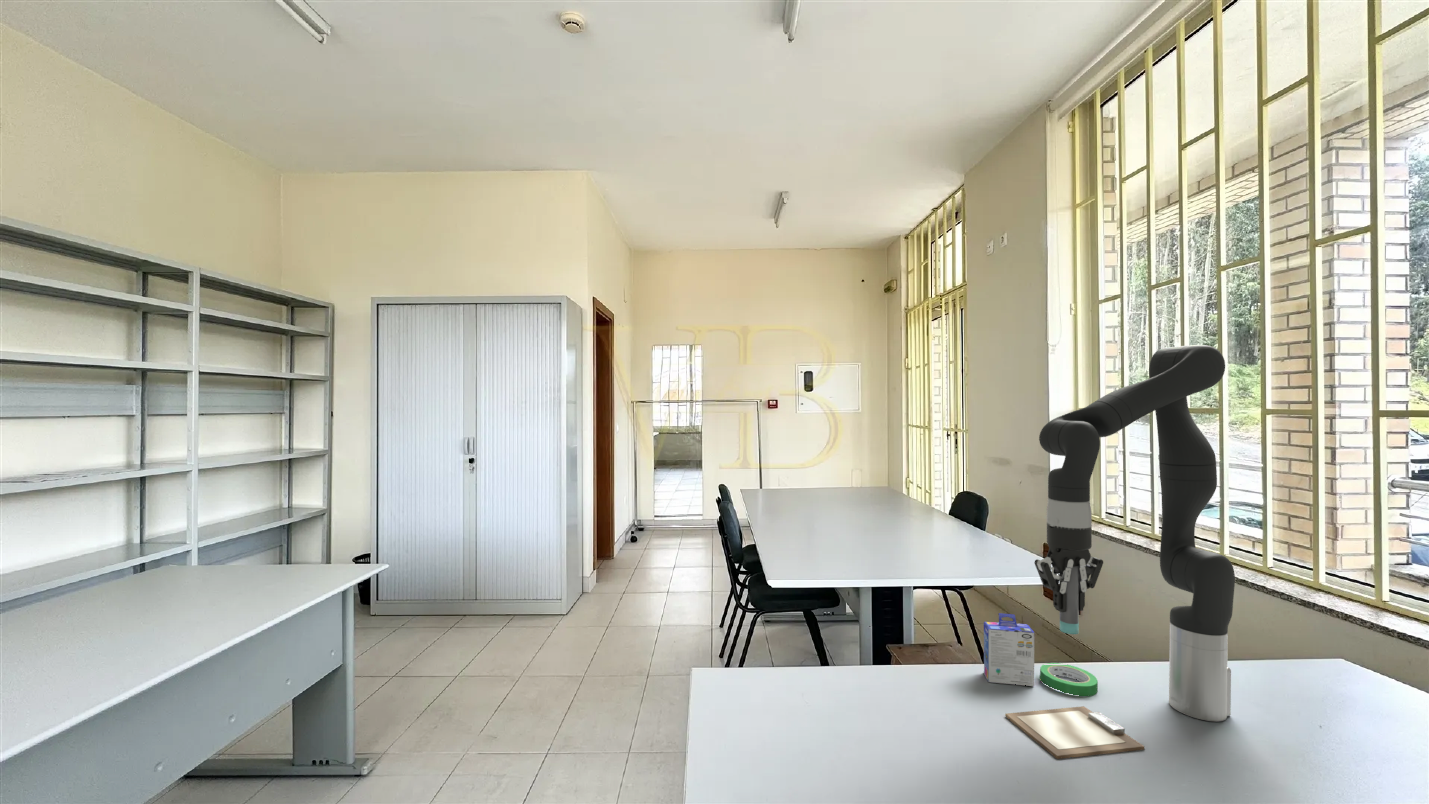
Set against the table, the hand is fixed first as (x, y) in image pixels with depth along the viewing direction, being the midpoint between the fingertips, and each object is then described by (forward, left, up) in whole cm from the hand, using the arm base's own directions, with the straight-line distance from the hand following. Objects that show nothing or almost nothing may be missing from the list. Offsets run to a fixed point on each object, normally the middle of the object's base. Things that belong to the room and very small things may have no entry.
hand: (1068, 609), depth 114 cm
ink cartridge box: (-1, -19, -23) cm, 30 cm away
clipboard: (+1, +2, -23) cm, 23 cm away
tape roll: (-13, -15, -23) cm, 31 cm away
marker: (0, 0, -4) cm, 4 cm away
